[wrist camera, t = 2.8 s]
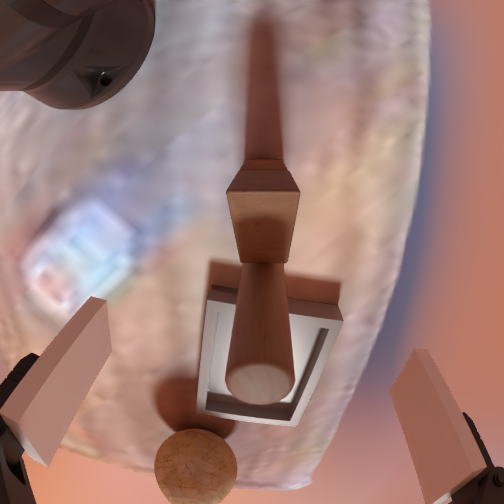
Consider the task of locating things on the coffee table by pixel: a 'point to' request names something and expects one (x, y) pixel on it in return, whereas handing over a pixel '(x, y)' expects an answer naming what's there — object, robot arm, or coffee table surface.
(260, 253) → the brown wooden piece
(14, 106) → the coffee table surface
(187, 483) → the fossilized egg
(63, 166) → the coffee table surface
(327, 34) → the coffee table surface
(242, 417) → the tray
